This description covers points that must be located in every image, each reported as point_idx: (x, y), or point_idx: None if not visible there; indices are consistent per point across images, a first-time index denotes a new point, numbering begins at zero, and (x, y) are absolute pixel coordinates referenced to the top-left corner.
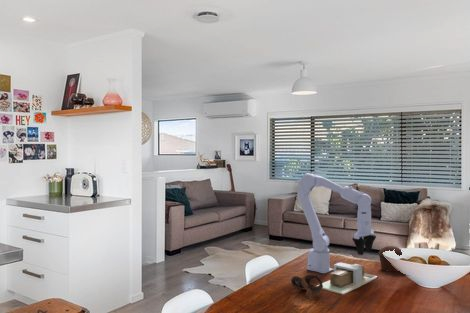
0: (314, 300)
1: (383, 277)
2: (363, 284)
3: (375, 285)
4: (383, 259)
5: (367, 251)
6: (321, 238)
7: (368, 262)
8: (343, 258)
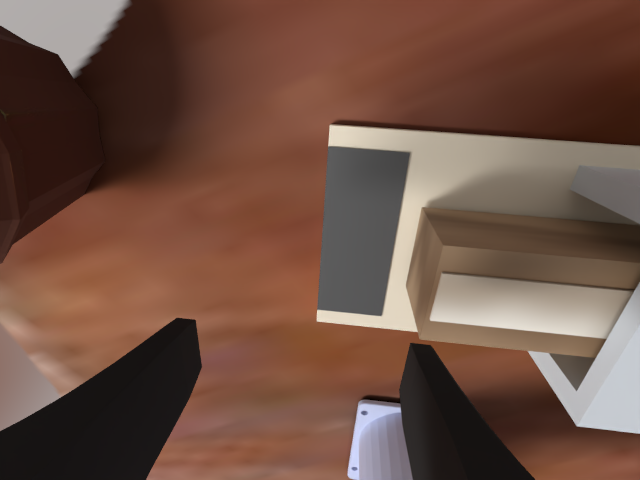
0: None
1: (294, 85)
2: (599, 143)
3: (573, 47)
4: (41, 187)
5: (199, 350)
6: None
7: (48, 306)
8: None
